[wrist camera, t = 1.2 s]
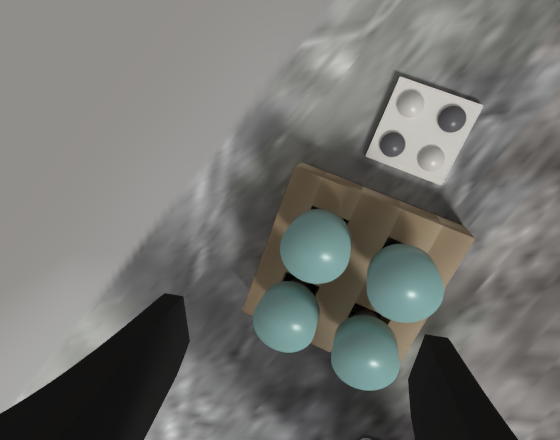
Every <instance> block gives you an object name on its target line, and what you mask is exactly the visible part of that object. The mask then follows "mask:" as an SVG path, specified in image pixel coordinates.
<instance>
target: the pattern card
mask: <svg viewBox="0 0 560 440" xmlns="http://www.w3.org/2000/svg"><path fill="white" fill-rule="evenodd" d="M483 106H484V105H481V104H478V103H475V102H472V101H469V100H467V99H464V98H461V97H458V96H455V95H452V94H449V93H446V92H444V91H441V90H438V89H435V88H432V87H429V86H426V85H423V84H421V83H418V82H415V81H412V80H409V79H406V78H403V77H399V79H398V82H397V84H396V86H395V89H394V91H393V93H392V96H391V98H390V100H389V102H388V105H387V107H386V109H385V112H384V114H383V116H382V119H381V121H380V123H379V126H378V128H377V130H376V132H375V135H374V137H373V139H372V142H371V144H370V146H369V149H368V151H367V153H366V155H365V157H368V158H371V159H373V160H376V161H379V162H381V163H384V164H386V165H389V166H392V167H394V168H397V169H399V170H402V171H405V172H407V173H410V174H412V175H415V176H418V177H420V178H423V179H425V180H428V181H431V182H433V183H436V184H438V185H442V183H443V182H444V180H445V178H446V176H447V174H448V172H449V170H450V168H451V166H452V165H453V163H454V161H455V159H456V157H457V155H458V153H459V151H460V149H461V148H462V146H463V144H464V142H465V140H466V138H467V136H468V134H469V132H470V131H471V129H472V127H473V125H474V123H475V121H476V119H477V117H478V115H479V114H480V112H481V110H482V108H483Z"/></svg>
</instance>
